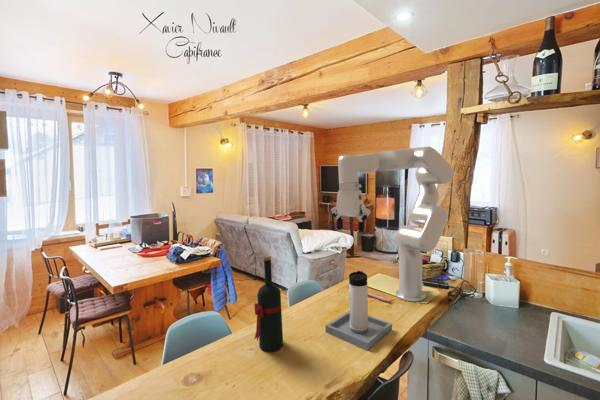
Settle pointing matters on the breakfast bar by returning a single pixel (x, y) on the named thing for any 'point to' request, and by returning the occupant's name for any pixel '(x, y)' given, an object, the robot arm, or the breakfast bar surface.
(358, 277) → the travel mug
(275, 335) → the wine bottle
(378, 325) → the tray
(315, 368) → the breakfast bar surface
